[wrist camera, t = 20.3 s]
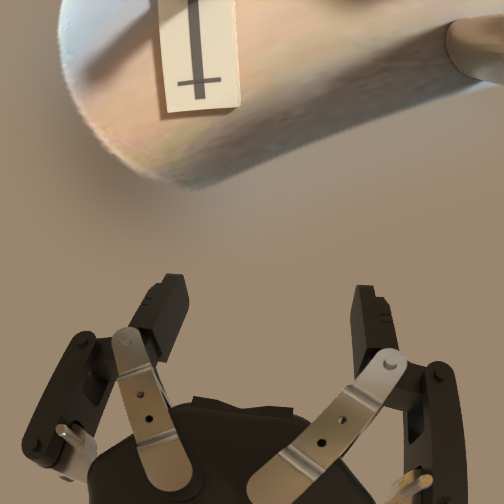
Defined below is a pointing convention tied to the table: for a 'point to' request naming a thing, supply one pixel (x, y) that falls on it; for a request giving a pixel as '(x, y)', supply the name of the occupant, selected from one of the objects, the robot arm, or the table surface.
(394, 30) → the table surface
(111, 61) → the table surface
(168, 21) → the fader deck
